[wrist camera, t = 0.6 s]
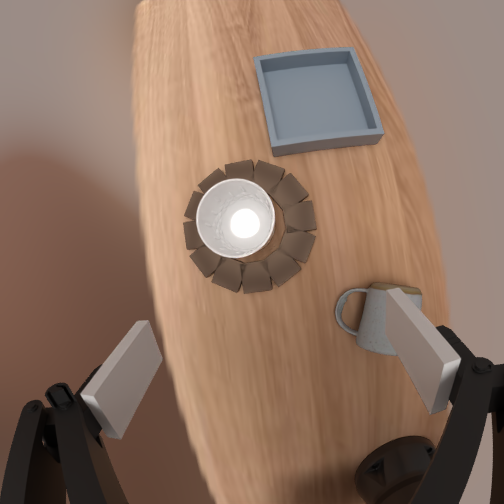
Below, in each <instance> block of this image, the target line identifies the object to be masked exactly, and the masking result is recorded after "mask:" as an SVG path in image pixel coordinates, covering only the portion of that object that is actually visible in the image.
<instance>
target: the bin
mask: <svg viewBox="0 0 504 504" xmlns="http://www.w3.org/2000/svg"><path fill="white" fill-rule="evenodd" d="M253 59H254V63H255V68H256V72H257V77H258V82H259V86H260V91H261V96H262V101H263V106H264V111H265V116H266V121H267V126H268V131H269V136H270V141H271V147H272V151H273V156H274V157H277V156H283V155H290V154H296V153H303V152H310V151H317V150H325V149H333V148H342V147H351V146H361V145H372V144H377V143H378V142H379V140H380V139H381V138H382V136H383V135H384V131H383V127H382V124H381V121H380V117H379V114H378V111H377V108H376V105H375V102H374V99H373V96H372V94H371V91H370V88H369V85H368V83H367V80H366V77H365V75H364V72H363V70H362V67H361V65H360V62H359V60H358V57H357V55H356V52H355V50H354V48H353V47H339V48H322V49H310V50H300V51H291V52H283V53H276V54H269V55H263V56H257V57H253Z"/></svg>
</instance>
